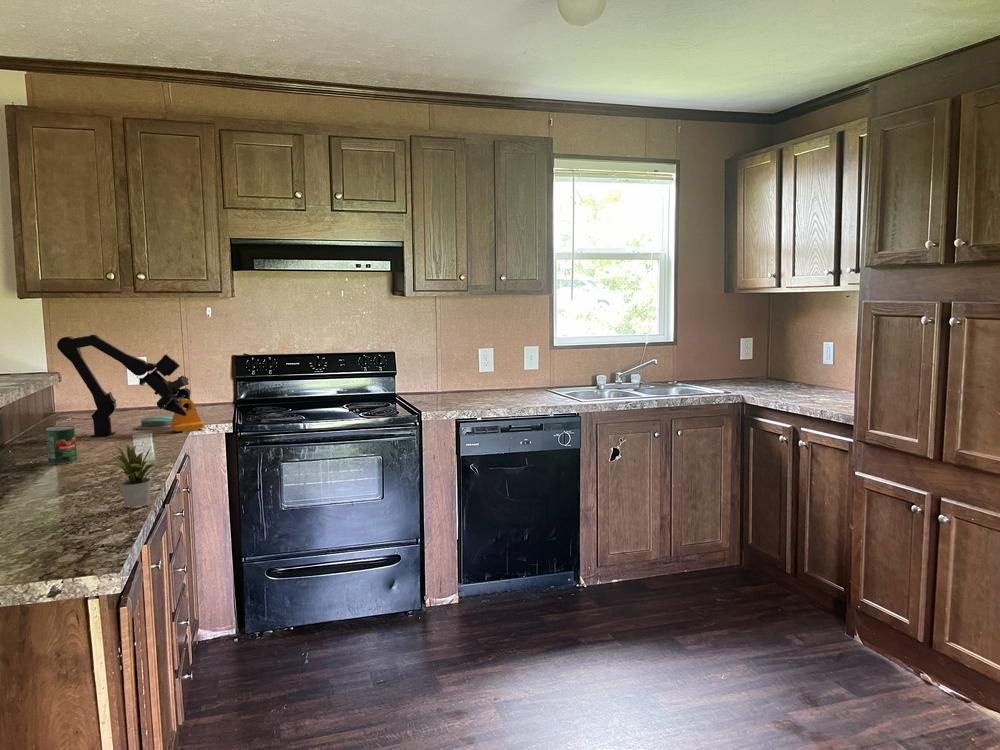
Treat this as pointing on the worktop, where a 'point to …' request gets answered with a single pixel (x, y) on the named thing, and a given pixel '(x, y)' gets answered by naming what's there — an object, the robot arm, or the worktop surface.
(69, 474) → the worktop surface
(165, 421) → the teal flat pad
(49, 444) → the canned tomato
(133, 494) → the house plant
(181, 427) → the bracket
